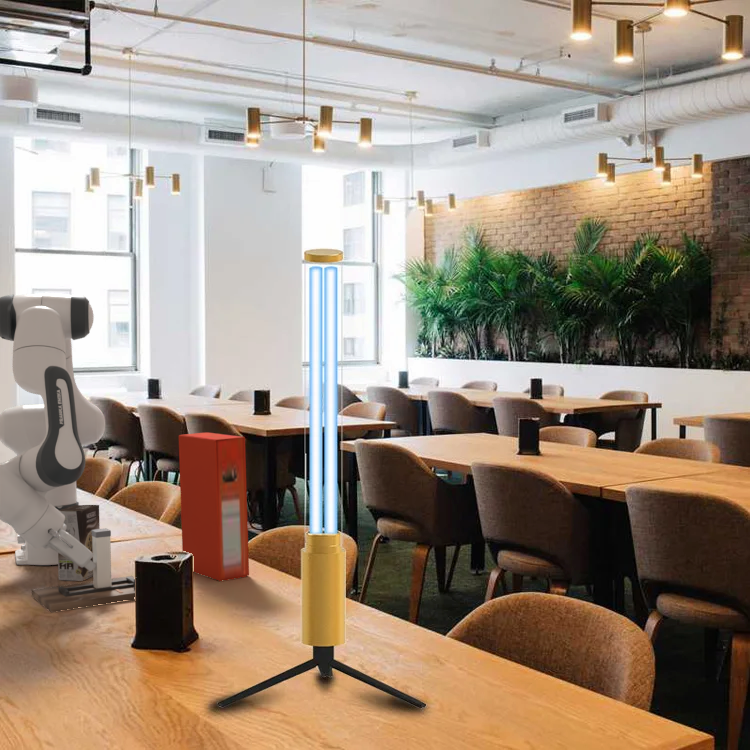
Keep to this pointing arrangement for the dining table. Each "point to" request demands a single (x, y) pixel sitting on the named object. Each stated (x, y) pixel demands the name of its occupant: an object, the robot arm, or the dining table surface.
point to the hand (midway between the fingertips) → (91, 567)
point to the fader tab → (101, 557)
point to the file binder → (214, 504)
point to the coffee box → (78, 538)
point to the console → (84, 594)
